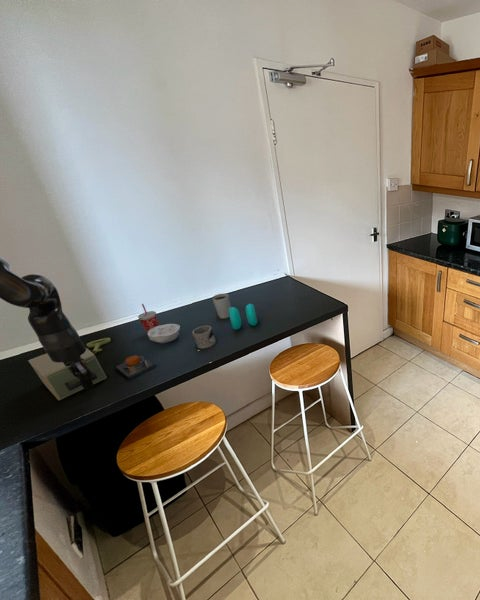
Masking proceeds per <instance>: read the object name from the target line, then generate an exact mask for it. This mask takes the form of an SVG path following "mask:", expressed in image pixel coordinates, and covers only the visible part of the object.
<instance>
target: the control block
mask: <svg viewBox="0 0 480 600" xmlns="http://www.w3.org/2000/svg"><path fill="white" fill-rule="evenodd" d="M137 356H138V358H139V360H140V361H139V362H138V363H136V364H134V365H130V366H129V365H127V363H126V361H123V362H122V363H121V364H119V365H117V366H115V369H116V370H117V371H118V372H119V373H121V374H122V375H123V376H124V377H126V378H127V379H128V380H131V379H134V378H136V377H137V376H140V375H142V374H144V373H146V372H148V371H150V370H152V369H154V368H156V365H155V363H153V362H152V361H151V360H149V359H147V358H146V357H145V356H143V355H137Z"/></svg>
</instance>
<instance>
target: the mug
mask: <svg viewBox="0 0 480 600" xmlns="http://www.w3.org/2000/svg"><path fill="white" fill-rule="evenodd" d="M191 333H192V336H193V339H194V341H195V344H196V347H197V348H198V349H201V350H202V349H208V348H211V347H213V346H214V345H215V344H216V343H217V341H216V338H215V334H214V332H213V329H212V326H210V325H205V324H203V325H201V326H198V327H195V328H194V329H193V330H192V332H191Z"/></svg>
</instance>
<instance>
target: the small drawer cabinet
mask: <svg viewBox="0 0 480 600" xmlns="http://www.w3.org/2000/svg"><path fill="white" fill-rule="evenodd" d="M81 358H83V359H84V360H88V359H92V358H94V359H95V360H96V362H97V364H98V366H99V367H100V369H101V371H102V373H103V375H104V376H105V379H102V380H100V381H98V382H96V383H94V385H95V384H97V383H100V382H102V381H103V380H104V381H105V380H106V379H108V377H107V375H106V373H105V371H104V369H103V367H102V365H101V364H100V362H99V360H98V359H97V356H96V355H95V353H93V351H91V350H90V349H89V348H88V347H86V351H85V353H84V354H82V355H81ZM27 361H28V363H29V364H30V366H31V368H32V369H33V370H34V372H35V373H36V375H37V376H38V377H39V379H40V381H41V382H42V384H43V385H44V386H45V387H46V388H47V390H49V392H50V393H51V395H53V397H55V399H56V400H57V401H61V400H63V399H65V398H68V397H70V396H71V395H74V394H76V393H78V392H80V391H83V390H85V389H84V388H83V389H81V390H79V391H77V392H74V393H72V394H70V395H68V396H66V397H64V398H62V399H61V398H60V397H59V396H58V394H57V393H56V391H55V390H54V388H53V386H52V385H51V383H50V382H49V380H48V379H47V376H49V375H52V374H54V373H57V372H59V371H61V370H64V369H66V368H67V367H65V366H64V364H63V362H53V361H52V360H51V359H50V357H49V356H48V354H47V352H46V353H44V354H41V355H39V356H36V357H34V358H31V359H28V360H27Z"/></svg>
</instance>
